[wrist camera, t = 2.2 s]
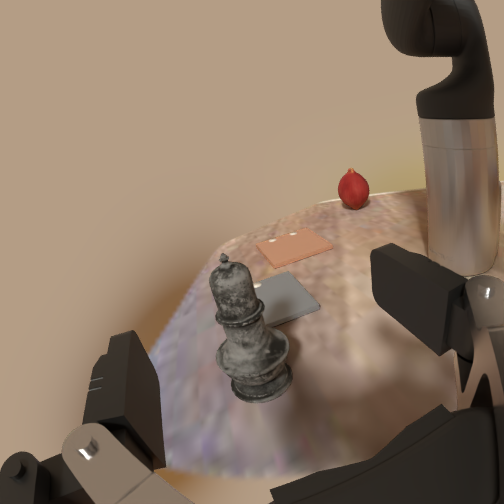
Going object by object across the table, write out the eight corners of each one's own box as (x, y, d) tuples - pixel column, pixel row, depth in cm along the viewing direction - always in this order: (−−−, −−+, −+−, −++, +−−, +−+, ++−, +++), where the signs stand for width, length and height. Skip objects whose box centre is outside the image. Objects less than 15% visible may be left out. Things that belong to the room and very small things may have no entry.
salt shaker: (221, 371, 28) (175, 253, 23) (280, 347, 29) (250, 228, 24) (238, 415, 23) (185, 287, 18) (307, 387, 24) (280, 253, 19)
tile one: (289, 275, 41) (288, 270, 41) (319, 309, 33) (319, 304, 33) (222, 298, 40) (220, 294, 40) (238, 339, 32) (236, 334, 31)
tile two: (307, 230, 53) (306, 227, 53) (332, 248, 45) (332, 244, 45) (256, 247, 52) (255, 243, 52) (274, 268, 44) (273, 264, 43)
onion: (338, 207, 60) (331, 167, 57) (366, 202, 60) (360, 162, 56) (345, 217, 55) (338, 173, 52) (375, 211, 54) (370, 167, 51)
